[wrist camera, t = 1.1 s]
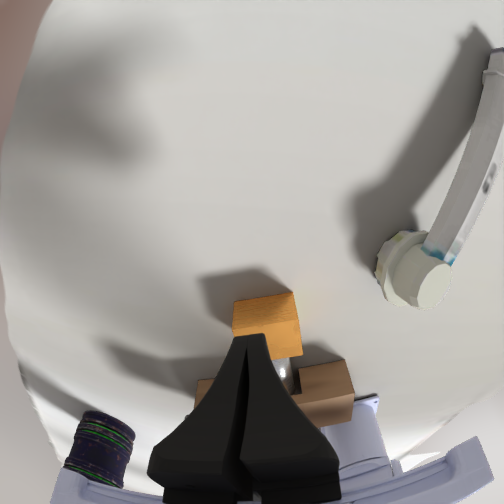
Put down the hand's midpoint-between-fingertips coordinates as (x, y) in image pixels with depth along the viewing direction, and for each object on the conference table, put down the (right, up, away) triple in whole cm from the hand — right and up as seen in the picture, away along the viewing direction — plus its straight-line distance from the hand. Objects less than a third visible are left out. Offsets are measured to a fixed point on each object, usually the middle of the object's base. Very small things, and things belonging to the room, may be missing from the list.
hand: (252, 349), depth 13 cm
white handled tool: (+17, +12, +6) cm, 22 cm away
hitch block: (+2, -11, +17) cm, 20 cm away
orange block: (+2, -5, +14) cm, 15 cm away
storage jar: (-24, -25, +24) cm, 42 cm away
